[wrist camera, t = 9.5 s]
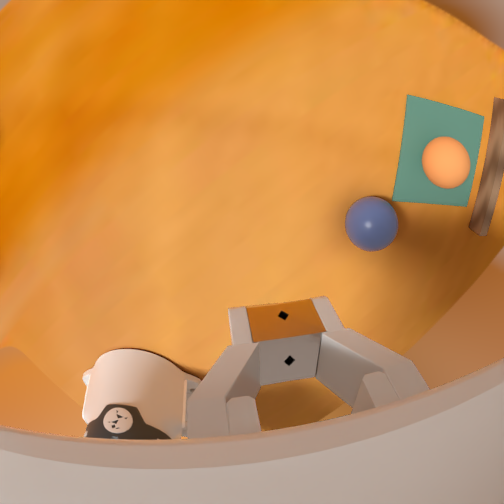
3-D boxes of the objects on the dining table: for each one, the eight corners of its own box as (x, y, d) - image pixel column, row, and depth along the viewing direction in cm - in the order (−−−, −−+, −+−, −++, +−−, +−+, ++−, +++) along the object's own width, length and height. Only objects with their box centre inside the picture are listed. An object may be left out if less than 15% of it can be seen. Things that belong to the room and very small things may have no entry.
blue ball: (340, 253, 34) (340, 230, 29) (349, 209, 36) (350, 181, 31) (390, 264, 32) (399, 242, 27) (396, 218, 34) (404, 191, 29)
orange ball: (408, 177, 30) (427, 175, 34) (453, 199, 27) (467, 194, 30) (420, 127, 28) (438, 131, 31) (469, 146, 24) (480, 148, 27)
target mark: (465, 206, 35) (466, 206, 35) (391, 200, 34) (392, 201, 33) (483, 116, 29) (484, 116, 29) (407, 94, 28) (408, 94, 28)
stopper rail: (475, 227, 37) (486, 235, 34) (468, 227, 36) (479, 235, 34) (501, 100, 28) (514, 103, 26) (494, 97, 28) (507, 100, 25)
